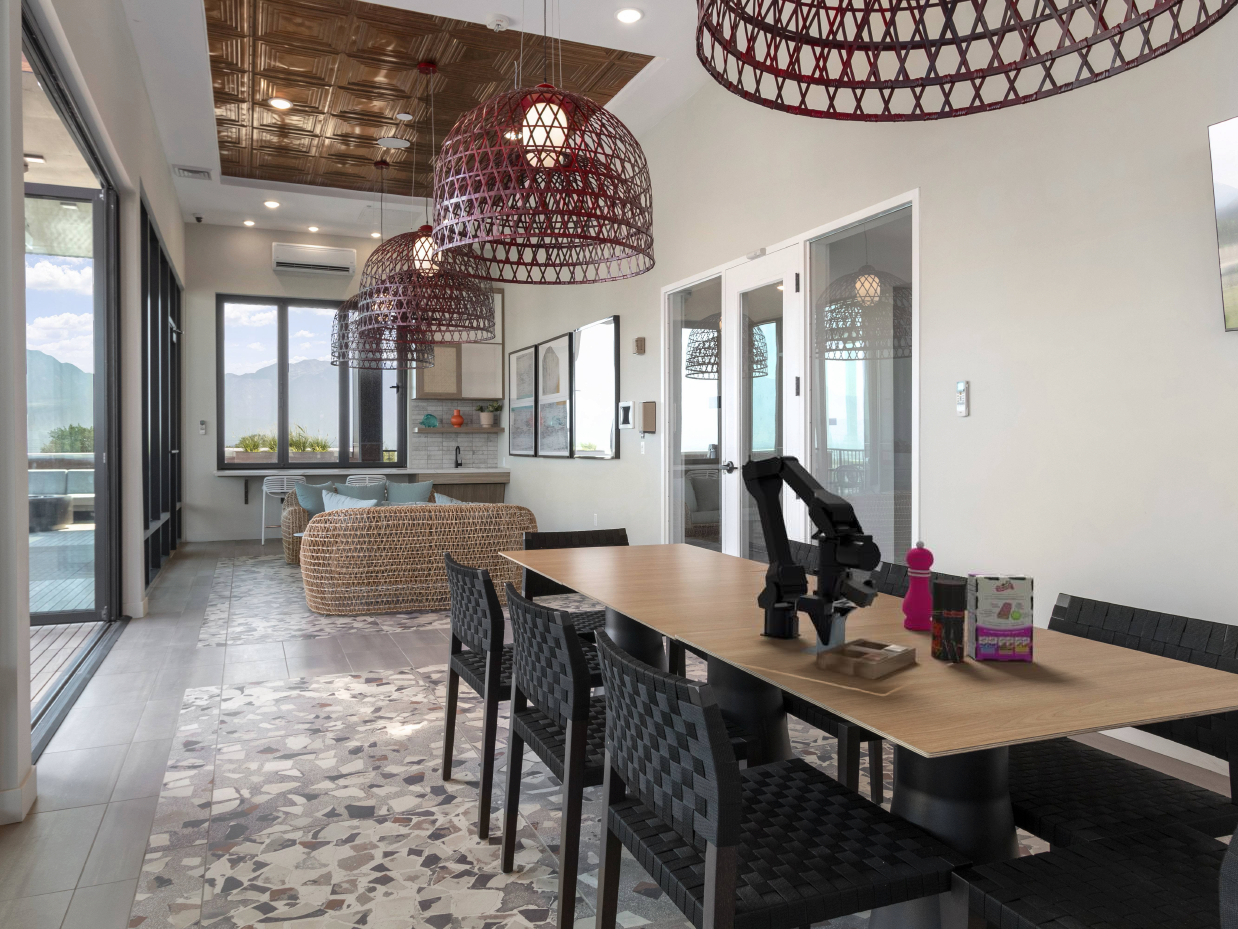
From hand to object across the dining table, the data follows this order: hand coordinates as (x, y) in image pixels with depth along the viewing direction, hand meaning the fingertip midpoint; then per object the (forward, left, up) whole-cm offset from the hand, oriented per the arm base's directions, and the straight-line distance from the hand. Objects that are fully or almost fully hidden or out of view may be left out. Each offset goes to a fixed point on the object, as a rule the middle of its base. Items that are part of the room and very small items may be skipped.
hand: (830, 643), depth 164 cm
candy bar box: (+25, +21, -2) cm, 33 cm away
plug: (0, 0, -2) cm, 2 cm away
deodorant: (+18, +13, -2) cm, 22 cm away
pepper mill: (+2, +38, -2) cm, 38 cm away
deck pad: (0, 0, -2) cm, 2 cm away
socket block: (+10, -4, -2) cm, 10 cm away
